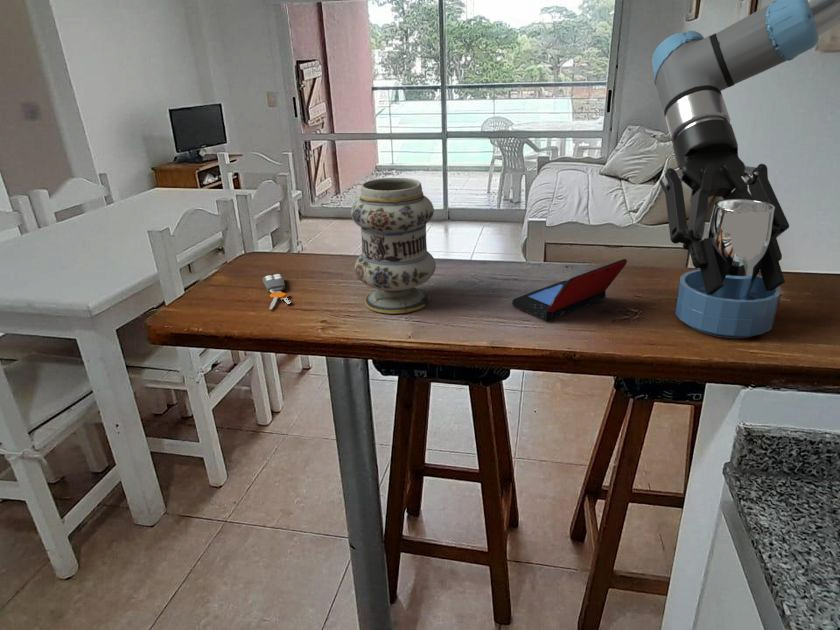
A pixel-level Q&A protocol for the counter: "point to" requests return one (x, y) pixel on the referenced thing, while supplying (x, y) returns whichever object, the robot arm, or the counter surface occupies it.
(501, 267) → the counter surface
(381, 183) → the apothecary jar
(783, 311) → the counter surface
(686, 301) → the bowl
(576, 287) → the handheld console
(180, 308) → the counter surface
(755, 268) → the beer glass
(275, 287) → the key chain
